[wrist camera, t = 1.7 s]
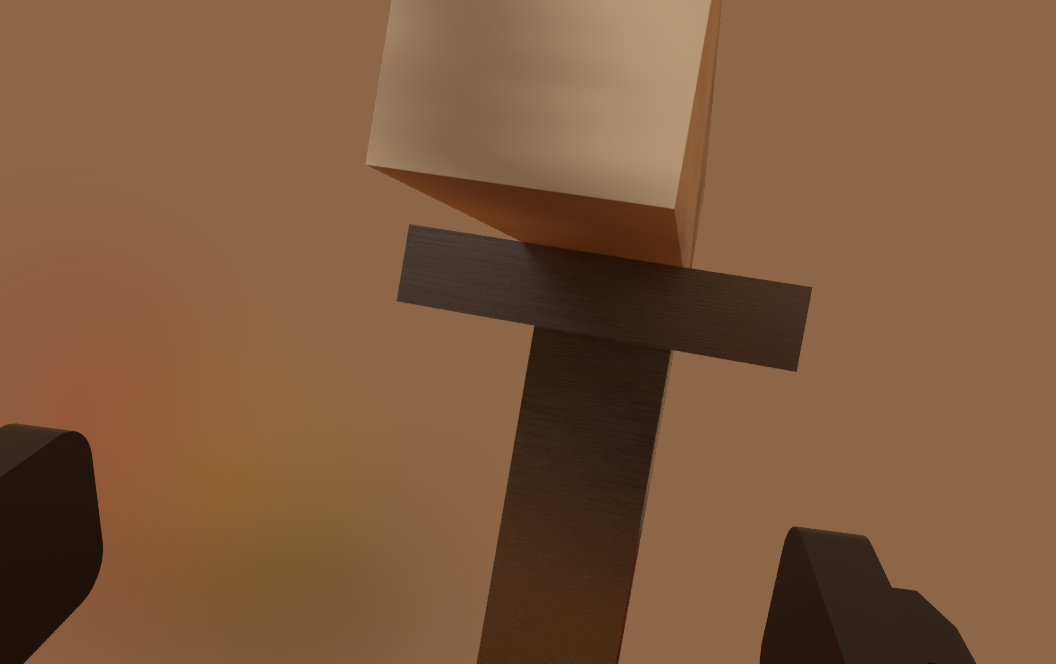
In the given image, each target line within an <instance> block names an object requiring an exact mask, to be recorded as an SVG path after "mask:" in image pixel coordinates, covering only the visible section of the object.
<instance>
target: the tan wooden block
mask: <svg viewBox="0 0 1056 664" xmlns="http://www.w3.org/2000/svg"><path fill="white" fill-rule="evenodd" d="M721 4H722V0H392V4H391V10H390V17H389V22H388V28H387V35H386V41H385V47H384V53H383V60H382V66H381V72H380V78H379V85H378V91H377V97H376V103H375V110H374V116H373V122H372V128H371V134H370V140H369V147H368V153H367V159H366V165H368V166H370V167H372V168H374V169H376V170H378V171H380V172H382V173H384V174H386V175H388V176H390V177H392V178H394V179H396V180H398V181H400V182H402V183H404V184H406V185H408V186H410V187H412V188H414V189H416V190H418V191H420V192H422V193H424V194H426V195H428V196H430V197H432V198H434V199H436V200H439V201H440V202H443V203H444V204H447V205H448V206H450V207H453V208H454V209H457V210H459V211H461V212H463V213H465V214H467V215H469V216H471V217H473V218H475V219H477V220H479V221H481V222H483V223H485V224H487V225H489V226H491V227H493V228H495V229H498V230H499V231H501V232H503V233H505V234H507V235H509V236H511V237H513V238H515V239H517V240H519V241H521V242H525V243H532V244H538V245H545V246H551V247H557V248H564V249H570V250H576V251H583V252H589V253H596V254H602V255H608V256H615V257H621V258H627V259H634V260H640V261H647V262H653V263H659V264H666V265H672V266H678V267H685V268H691V267H692V262H693V256H694V249H695V245H696V239H697V233H698V228H699V222H700V217H701V211H702V205H703V199H704V188H705V176H706V166H707V155H708V145H709V144H708V143H709V134H710V123H711V112H712V101H713V90H714V79H715V69H716V58H717V48H718V37H719V25H720V15H721Z"/></svg>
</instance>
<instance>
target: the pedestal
mask: <svg viewBox="0 0 1056 664" xmlns="http://www.w3.org/2000/svg"><path fill="white" fill-rule="evenodd" d="M811 291H812V287H805V286H799V285H793V284H787V283H780V282H774V281H768V280H761V279H755V278H748V277H742V276H736V275H729V274H723V273H716V272H710V271H703V270H697V269H691V268H685V267H678V266H672V265H666V264H659V263H653V262H647V261H640V260H634V259H627V258H621V257H615V256H608V255H602V254H596V253H589V252H583V251H576V250H570V249H564V248H557V247H551V246H545V245H538V244H532V243H525V242H519V241H513V240H506V239H500V238H494V237H487V236H480V235H475V234H467V233H462V232H455V231H449V230H443V229H436V228H429V227H423V226H417V225H410V224H409V230H408V236H407V242H406V248H405V254H404V260H403V267H402V272H401V279H400V285H399V291H398V297H397V301H398V302H404V303H410V304H416V305H422V306H427V307H432V308H438V309H444V310H449V311H455V312H461V313H466V314H472V315H478V316H483V317H489V318H495V319H500V320H506V321H512V322H517V323H523V324H529V325H534V331H533V337H532V343H531V349H530V355H529V360H528V366H527V372H526V378H525V384H524V390H523V396H522V401H521V408H520V414H519V419H518V425H517V431H516V437H515V442H514V449H513V454H512V460H511V466H510V472H509V478H508V483H507V490H506V495H505V501H504V507H503V513H502V519H501V525H500V531H499V536H498V543H497V548H496V554H495V560H494V566H493V572H492V577H491V583H490V589H489V595H488V601H487V607H486V612H485V619H484V624H483V630H482V637H481V642H480V648H479V654H478V659H477V664H618V662H619V656H620V651H621V645H622V639H623V634H624V628H625V622H626V617H627V611H628V606H629V600H630V594H631V589H632V583H633V577H634V572H635V566H636V560H637V555H638V549H639V544H640V538H641V533H642V526H643V521H644V516H645V510H646V504H647V499H648V493H649V488H650V482H651V476H652V471H653V465H654V460H655V454H656V448H657V443H658V437H659V431H660V426H661V419H662V415H663V409H664V403H665V398H666V392H667V386H668V381H669V375H670V370H671V364H672V358H673V353H674V350H676V351H681V352H688V353H693V354H699V355H704V356H710V357H716V358H721V359H727V360H732V361H738V362H744V363H749V364H755V365H761V366H766V367H772V368H778V369H783V370H789V371H795V372H797V367H798V361H799V356H800V351H801V345H802V340H803V334H804V329H805V323H806V318H807V312H808V307H809V302H810V296H811Z"/></svg>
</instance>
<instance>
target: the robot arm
mask: <svg viewBox="0 0 1056 664" xmlns="http://www.w3.org/2000/svg"><path fill="white" fill-rule="evenodd" d="M102 556H103V542H102V533H101V525H100V517H99V509H98V501H97V492H96V484H95V477H94V468H93V460H92V453H91V448H90V445H89V443H88V441H87V439H86V438H85V437H84V436H83V435H82V434H80V433H79V432H75V431H69V430H61V429H53V428H46V427H38V426H30V425H23V424H9V425H5V426H3V427H1V428H0V664H24V662H25V661H27V659H28V658H29V657H30V656H31V655H32V654H33V653H34V652H35V651H36V650H37V649H38V648H39V647H40V646H41V645H42V644H43V643H44V642H45V641H46V640H47V638H49V637H50V635H52V633H53V632H54V631H55V630H56V629H57V628H58V627H59V626H60V625H61V624H62V623H63V622H64V621H65V620H66V619H67V618H68V617H69V616H70V615H71V614H72V613H73V612H74V610H75V609H76V608H77V607H78V606H79V605H80V604H81V603H82V602H83V601H84V600H85V599H86V597H87V596H88V594H89V593H90V591H91V589H92V588H93V586H94V584H95V581H96V579H97V577H98V574H99V571H100V567H101V563H102ZM760 664H976V662H975V661H974V659H973V657H972V655H971V653H970V652H969V650H968V648H967V646H966V644H965V643H964V641H963V639H962V637H961V635H960V633H959V632H958V630H957V628H956V627H955V626H954V625H953V624H952V623H951V622H949V621H948V620H947V619H946V618H945V617H944V616H943V615H942V614H941V613H940V612H939V611H938V610H937V609H936V608H934V607H933V606H932V605H931V604H930V603H929V602H928V601H927V600H926V599H925V598H924V597H923V596H922V595H921V594H920V593H918V592H917V591H914V590H906V589H898V588H892V587H891V585H890V583H889V581H888V578H887V576H886V574H885V572H884V570H883V568H882V566H881V564H880V562H879V559H878V557H877V555H876V553H875V551H874V549H873V547H872V545H871V543H870V541H869V540H868V538H867V537H865V536H863V535H856V534H848V533H841V532H833V531H825V530H818V529H810V528H802V527H792V528H791V529H790V530H789V532H788V534H787V536H786V539H785V542H784V546H783V550H782V554H781V559H780V563H779V568H778V572H777V577H776V582H775V586H774V590H773V595H772V599H771V604H770V608H769V613H768V618H767V622H766V626H765V631H764V635H763V640H762V646H761V655H760Z"/></svg>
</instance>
